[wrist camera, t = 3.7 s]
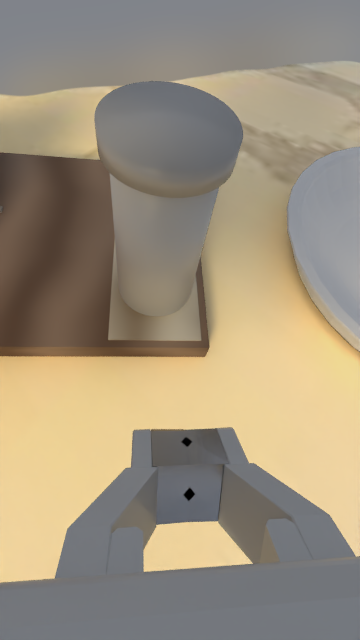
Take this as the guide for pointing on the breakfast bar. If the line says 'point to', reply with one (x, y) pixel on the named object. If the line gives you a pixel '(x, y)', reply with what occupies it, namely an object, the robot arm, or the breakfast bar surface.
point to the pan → (330, 238)
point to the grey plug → (163, 184)
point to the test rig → (75, 270)
